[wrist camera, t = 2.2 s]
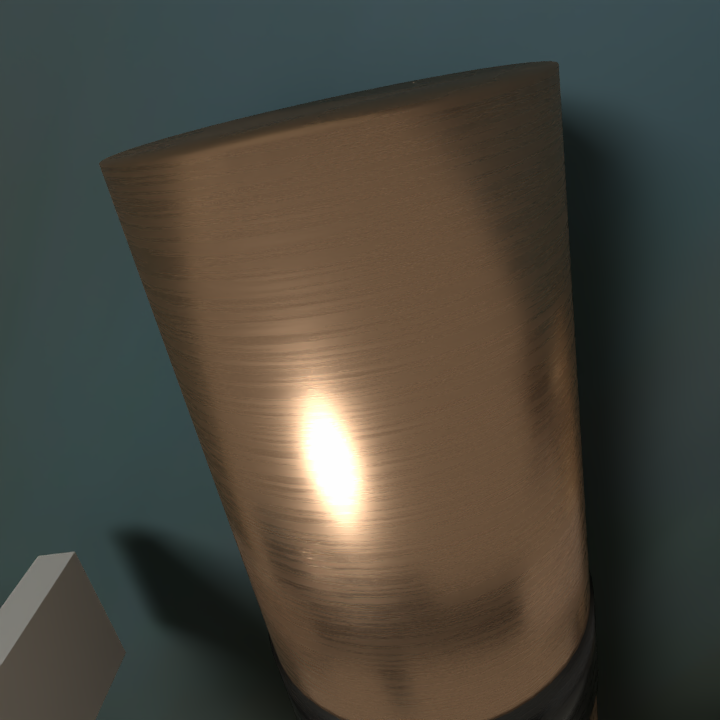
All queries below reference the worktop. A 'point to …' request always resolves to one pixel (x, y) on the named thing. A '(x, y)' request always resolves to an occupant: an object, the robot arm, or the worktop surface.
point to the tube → (387, 386)
